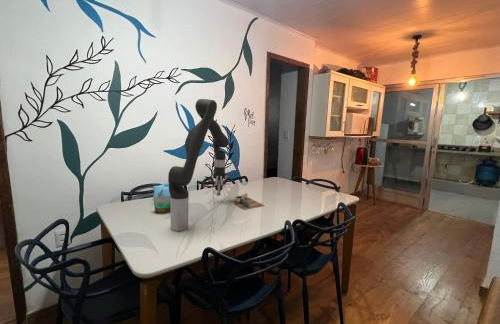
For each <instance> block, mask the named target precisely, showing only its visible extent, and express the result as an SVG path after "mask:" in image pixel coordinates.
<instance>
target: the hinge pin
mask: <svg viewBox="0 0 500 324" xmlns="http://www.w3.org/2000/svg"><path fill="white" fill-rule="evenodd" d="M221 181H222V180H221ZM221 181H220V180H218V181H217V190H216V196H217V197H219V196H221V195H222V191H221Z"/></svg>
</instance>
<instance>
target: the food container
mask: <svg viewBox="0 0 500 324" xmlns="http://www.w3.org/2000/svg"><path fill="white" fill-rule="evenodd" d="M152 201H153V205H154V212H155V213H156V214H162V215H163V214H169V213H170V197H165V196H161V197H154V195H153V196H152Z"/></svg>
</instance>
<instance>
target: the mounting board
mask: <svg viewBox="0 0 500 324" xmlns="http://www.w3.org/2000/svg"><path fill="white" fill-rule="evenodd" d="M246 201H248V202H250V205H249V208H247V207H245V206H243V205H241V204H236V203H235V198H234V199H229V200H227V202H230V203H231V204H233V205H234V206H236V207H238V208H240V209H241V210H242V211H247V210H252V209H258V208H262V207H263V208H264V207H266V205H264V204H262V203H261V202H258V201H257V200H254V199H253V198H250V197H248V196H247V199H246Z"/></svg>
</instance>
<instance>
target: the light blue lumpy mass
mask: <svg viewBox="0 0 500 324" xmlns="http://www.w3.org/2000/svg"><path fill="white" fill-rule="evenodd" d="M152 190H153V192H154V193H153V196H154V197H161V196H165V197H170V192H169V183H168V182H164V183H162V184H160V185H153V186H152Z"/></svg>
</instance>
